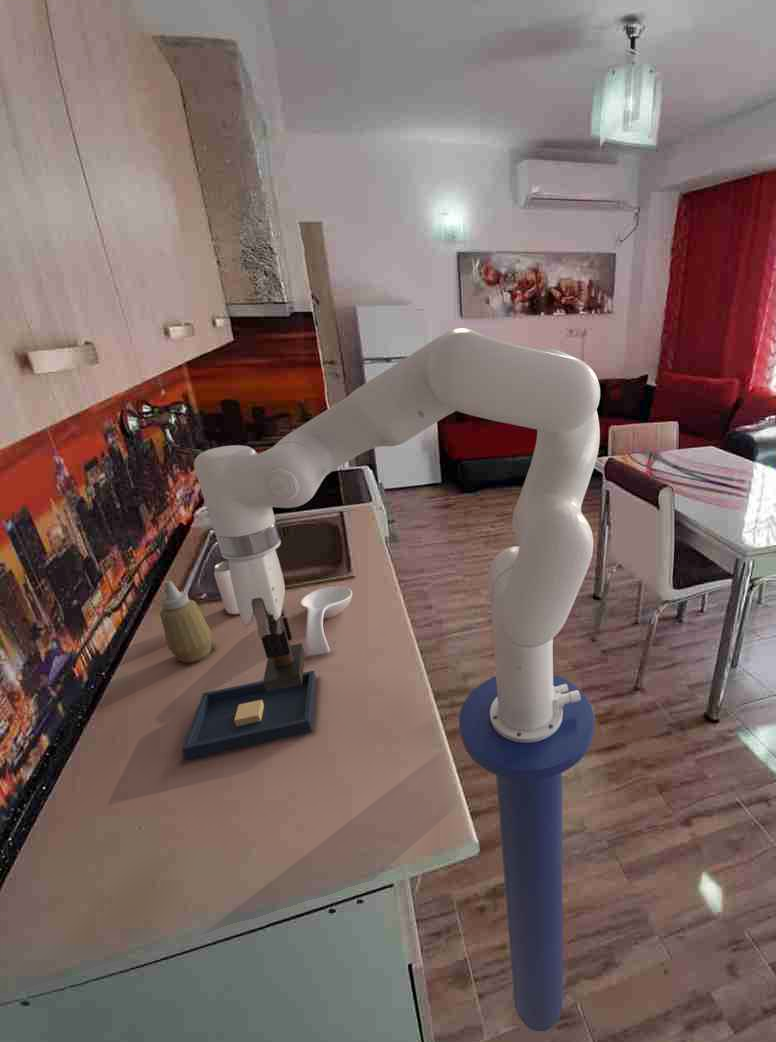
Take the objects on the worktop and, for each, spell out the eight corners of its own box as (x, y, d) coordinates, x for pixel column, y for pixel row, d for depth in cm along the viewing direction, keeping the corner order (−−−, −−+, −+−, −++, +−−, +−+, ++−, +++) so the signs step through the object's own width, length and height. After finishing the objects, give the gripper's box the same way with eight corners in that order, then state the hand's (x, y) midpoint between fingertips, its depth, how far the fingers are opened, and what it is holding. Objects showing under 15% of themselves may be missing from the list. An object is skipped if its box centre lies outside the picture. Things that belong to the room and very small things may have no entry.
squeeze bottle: (218, 639, 113) (193, 568, 106) (214, 660, 107) (187, 586, 99) (177, 649, 111) (149, 577, 103) (171, 671, 104) (139, 596, 96)
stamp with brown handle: (272, 659, 82) (256, 606, 77) (304, 652, 83) (291, 600, 79) (266, 692, 75) (248, 636, 70) (302, 684, 76) (287, 629, 72)
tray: (316, 680, 99) (313, 670, 98) (311, 731, 87) (308, 720, 86) (207, 703, 95) (203, 692, 94) (186, 760, 83) (181, 749, 82)
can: (256, 598, 129) (243, 556, 124) (253, 611, 123) (240, 568, 118) (228, 604, 127) (214, 561, 122) (224, 617, 121) (209, 573, 116)
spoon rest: (307, 601, 126) (301, 576, 123) (356, 594, 128) (351, 569, 125) (290, 661, 105) (282, 632, 102) (349, 651, 107) (342, 623, 104)
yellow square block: (264, 705, 93) (262, 699, 92) (260, 721, 89) (258, 715, 89) (240, 710, 92) (238, 704, 91) (236, 726, 88) (233, 720, 88)
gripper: (230, 520, 75) (260, 623, 83) (205, 570, 61) (245, 689, 69) (283, 513, 77) (308, 614, 85) (271, 559, 63) (303, 676, 71)
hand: (279, 647), depth 77 cm, fingers closed on stamp with brown handle, 2 cm apart
